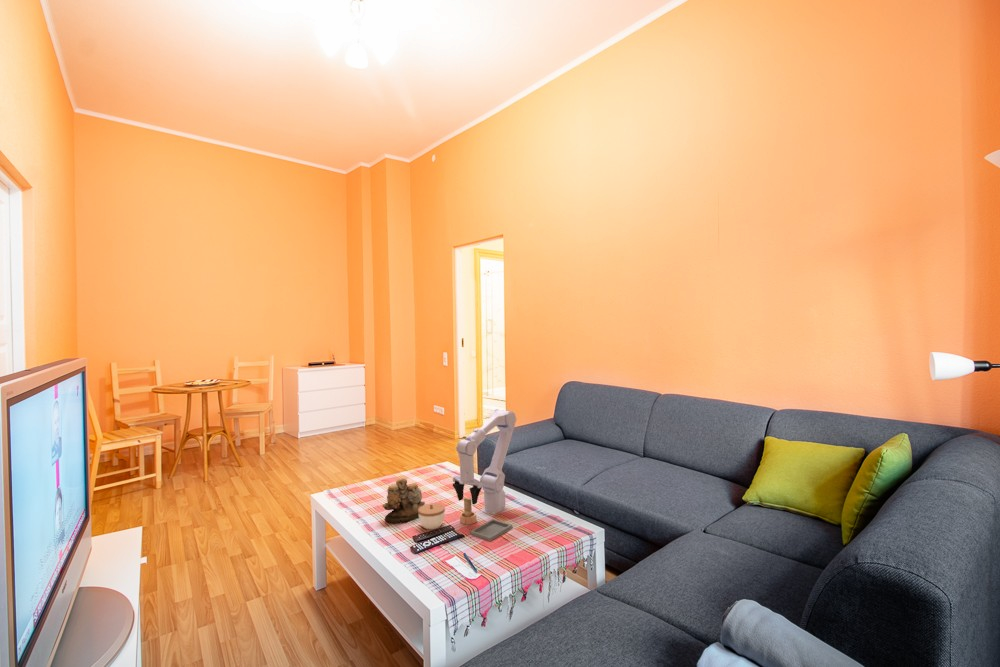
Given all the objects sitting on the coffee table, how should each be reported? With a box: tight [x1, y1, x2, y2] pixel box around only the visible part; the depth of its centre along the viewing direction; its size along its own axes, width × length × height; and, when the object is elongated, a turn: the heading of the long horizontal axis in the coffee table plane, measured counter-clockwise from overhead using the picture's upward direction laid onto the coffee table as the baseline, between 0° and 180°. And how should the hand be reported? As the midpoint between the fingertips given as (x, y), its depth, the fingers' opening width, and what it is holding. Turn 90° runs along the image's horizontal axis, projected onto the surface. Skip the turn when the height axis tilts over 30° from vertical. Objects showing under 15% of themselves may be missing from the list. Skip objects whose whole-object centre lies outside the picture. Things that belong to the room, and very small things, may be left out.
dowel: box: [463, 497, 473, 517], centre depth 193 cm, size 3×3×9 cm
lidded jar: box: [418, 502, 446, 530], centre depth 189 cm, size 11×11×9 cm
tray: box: [469, 518, 513, 542], centre depth 183 cm, size 14×10×2 cm
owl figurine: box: [382, 477, 426, 525], centre depth 200 cm, size 18×12×17 cm, turn 118°
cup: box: [459, 511, 477, 525], centre depth 193 cm, size 7×7×3 cm
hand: (467, 501), depth 193 cm, fingers open, 7 cm apart
